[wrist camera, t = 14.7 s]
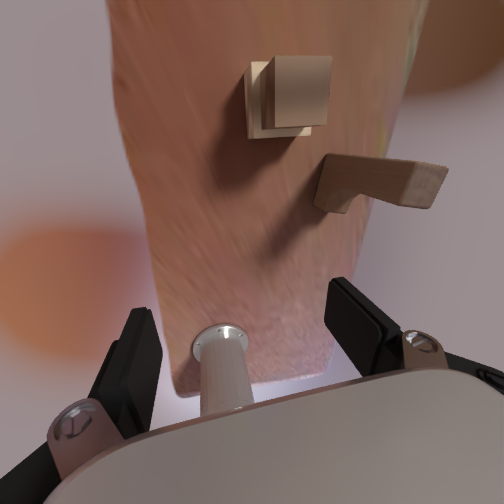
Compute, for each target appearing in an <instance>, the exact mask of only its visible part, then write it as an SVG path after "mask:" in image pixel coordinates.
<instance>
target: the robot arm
mask: <svg viewBox="0 0 504 504" xmlns="http://www.w3.org/2000/svg"><path fill="white" fill-rule="evenodd" d="M324 322H325V325H326V327H327V328H328V329H329V331H330V332H331V334H332V335H333V336H334V338H335V339H336V340H337V342H338V343H339V344H340V346H341V347H342V349H343V350H344V352H345V353H346V354H347V356H348V357H349V359H350V360H351V361H352V363H353V364H354V366H355V367H356V368H357V370H358V371H359V372H360V374H361V375H362V378H358V379H354V380H350V381H345V382H341V383H337V384H333V385H328V386H325V387H320V388H316V389H312V390H307V391H304V392H299V393H296V394H291V395H287V396H283V397H279V398H275V399H271V400H267V401H263V402H259V403H254V398H253V393H252V388H251V384H250V379H249V374H248V370H247V365H246V360H245V355H244V354H245V353H246V351H247V349H248V337H247V335H246V333H245V332H244V331H243V330H242V329H241V328H239V327H237V326H235V325H230V324H220V325H215V326H212V327H209V328H207V329H205V330H204V331H202V332H201V333H200V334H199V335H198V336H197V338H196V339H195V341H194V344H193V354H194V357H195V358H196V360H197V361H198V362H200V417H199V418H195V419H191V420H187V421H183V422H180V423H176V424H173V425H169V426H165V427H161V428H158V429H155V430H152V431H149V429H150V424H151V418H152V412H153V407H154V401H155V396H156V390H157V384H158V379H159V374H160V367H161V362H162V357H163V351H162V347H161V343H160V340H159V336H158V333H157V329H156V326H155V322H154V319H153V315H152V312H151V310H150V309H148V310H147V308H146V307H141V308H134V309H132V310H131V312H130V315H129V317H128V319H127V322H126V324H125V326H124V329H123V331H122V334H121V336H120V338H119V340H115V341H114V342H113V343H112V345H111V346H110V349H109V351H108V353H107V355H106V358H105V360H104V362H103V364H102V366H101V369H100V371H99V373H98V375H97V378H96V380H95V382H94V384H93V386H92V389H91V391H90V393H89V395H88V397H87V398H86V399H82V400H79V401H77V402H75V403H73V404H72V405H70V406H68V407H67V408H66V409H64V410H63V411H62V412H61V413H60V414H59V415H58V416H57V417H56V418H55V419H54V421H53V422H52V424H51V426H50V427H49V430H48V433H47V441H46V442H45V443H44V444H43V445H41V446H40V447H39V448H38V449H36V450H35V451H34V452H33V453H32V454H31V455H29V456H28V457H27V458H25V459H24V460H23V461H22V462H21V463H20V464H18V465H17V466H16V467H14V469H12V470H11V471H10V472H8V473H7V474H6V475H5V476H3V477H2V478H1V479H0V504H504V373H503V372H502V371H499V370H497V369H494V368H492V367H489V366H486V365H483V364H480V363H477V362H474V361H471V360H468V359H465V358H462V357H459V356H456V355H453V354H450V353H447V352H445V351H444V350H443V347H442V346H441V344H440V343H439V342H438V341H437V340H436V339H435V338H433V337H432V336H430V335H428V334H426V333H423V332H420V331H416V330H408V331H405V332H404V333H403V332H402V331H401V330H400V326H399V325H398V324H396V323H395V322H394V321H393V320H392V319H390V317H388V316H387V315H386V314H385V313H384V312H383V311H382V310H381V309H379V308H378V307H377V306H376V305H375V304H374V303H373V302H372V301H370V300H369V299H368V298H367V297H366V296H365V295H364V294H362V293H361V292H360V291H359V290H358V289H357V288H356V287H354V286H353V285H352V284H351V283H350V282H349V281H348V280H347V279H345V278H344V277H338V278H333V279H332V280H331V281H330V282H329V285H328V293H327V300H326V308H325V315H324Z"/></svg>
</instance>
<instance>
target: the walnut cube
mask: <svg viewBox="0 0 504 504" xmlns="http://www.w3.org/2000/svg"><path fill="white" fill-rule="evenodd" d="M331 66H332V56H274V57H273V58H272V60H271V61H270V62H269V63H268V64H267V65H266V66H265V67H264V69H263V70H262V71H261V72H260V93H261V129H262V130H266V129H286V128H305V127H313V126H321V125H326V123H327V112H328V100H329V89H330V78H331Z"/></svg>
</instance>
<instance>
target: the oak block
mask: <svg viewBox="0 0 504 504" xmlns="http://www.w3.org/2000/svg"><path fill="white" fill-rule="evenodd" d="M268 63H269V62H251V63H250V65H249V66H248V68H247V69H246V71H245V72H244V86H245V104H246V122H247V139H258V138H274V137H290V136H306V135H311V127H305V128H286V129H266V130H262V129H261V93H260V72H261V71H262V70H263V69H264V67H265V66H266V65H267V64H268Z"/></svg>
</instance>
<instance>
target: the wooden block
mask: <svg viewBox="0 0 504 504" xmlns="http://www.w3.org/2000/svg"><path fill="white" fill-rule="evenodd" d="M448 170H449V169H448V168H447V167H445V166H440V165H434V164H429V163H424V162H419V161H409V160H398V159H388V158H377V157H367V156H356V155H345V154H334V153H328V154H327V155H326V158H325V161H324V165H323V169H322V173H321V176H320V180H319V184H318V188H317V191H316V195H315V199H314V202H313V205H314V206H316V207H317V208H319V209H321V210H323V211H324V212H332V213H342V214H345V213H347V211H348V209H349V207H350V204H351V202H352V200H353V199H354V198H355V197H356V196H357V195H359V194H360V193H361V194H364V195H367V196H370V197H373V198H376V199H379V200H382V201H385V202H388V203H392V204H395V205H398V206H404V207H413V208H420V209H428V208H430V207H431V206H432V204H433V201H434V199H435V198H436V195H437V193H438V191H439V189H440V187H441V185H442V183H443V181H444V179H445V177H446V175H447V173H448Z"/></svg>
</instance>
